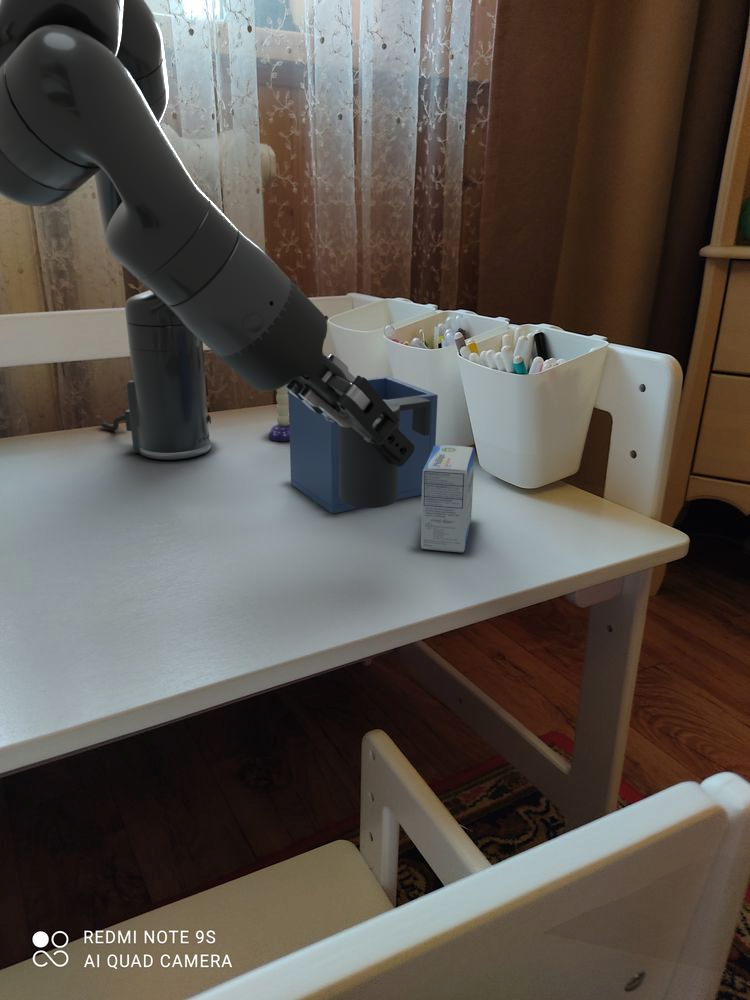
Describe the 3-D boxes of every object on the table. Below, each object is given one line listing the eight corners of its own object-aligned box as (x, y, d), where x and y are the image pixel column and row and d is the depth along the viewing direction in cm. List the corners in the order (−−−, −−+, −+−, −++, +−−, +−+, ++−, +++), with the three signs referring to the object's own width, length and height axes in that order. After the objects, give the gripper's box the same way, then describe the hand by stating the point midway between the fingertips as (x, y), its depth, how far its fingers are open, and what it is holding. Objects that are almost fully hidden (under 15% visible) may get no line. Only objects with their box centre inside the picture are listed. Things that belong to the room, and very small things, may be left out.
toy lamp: (265, 433, 112) (260, 317, 106) (296, 430, 114) (293, 315, 108) (272, 442, 108) (267, 322, 102) (304, 439, 110) (301, 320, 103)
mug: (357, 512, 62) (358, 417, 59) (328, 492, 66) (327, 402, 63) (436, 495, 66) (441, 405, 63) (405, 477, 70) (408, 391, 67)
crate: (332, 514, 85) (331, 409, 80) (290, 484, 93) (287, 388, 89) (433, 492, 91) (438, 394, 87) (386, 466, 100) (388, 376, 95)
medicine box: (464, 554, 75) (469, 471, 72) (419, 550, 76) (422, 467, 73) (471, 523, 83) (476, 446, 79) (429, 519, 83) (433, 443, 80)
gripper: (327, 282, 49) (466, 435, 60) (243, 262, 61) (372, 394, 71) (253, 372, 49) (407, 511, 59) (182, 336, 60) (321, 458, 70)
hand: (387, 447), depth 65 cm, fingers closed on mug, 5 cm apart
